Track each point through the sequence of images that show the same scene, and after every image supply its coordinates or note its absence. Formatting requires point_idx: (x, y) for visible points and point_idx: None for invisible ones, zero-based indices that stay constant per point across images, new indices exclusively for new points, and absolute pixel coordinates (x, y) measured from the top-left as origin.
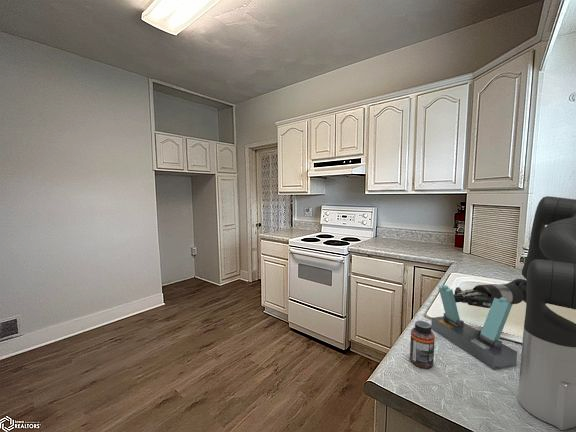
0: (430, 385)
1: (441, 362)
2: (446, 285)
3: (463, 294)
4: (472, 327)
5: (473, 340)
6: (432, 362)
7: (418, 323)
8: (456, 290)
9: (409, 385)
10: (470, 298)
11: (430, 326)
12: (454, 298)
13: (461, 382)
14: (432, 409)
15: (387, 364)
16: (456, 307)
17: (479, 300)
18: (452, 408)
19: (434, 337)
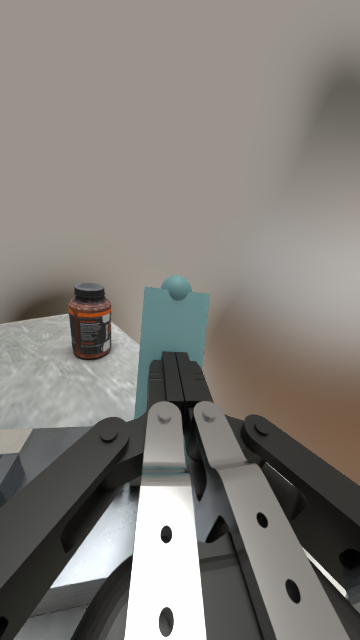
0: (52, 335)
1: (72, 371)
2: (176, 277)
3: (201, 447)
4: (87, 579)
5: (22, 435)
6: (72, 345)
7: (95, 284)
8: (294, 449)
9: (69, 323)
10: (98, 427)
11: (75, 286)
12: (140, 343)
13: (17, 364)
14: (30, 320)
15: (111, 324)
16: (136, 396)
17: (4, 511)
18: (10, 331)
19: (69, 307)
